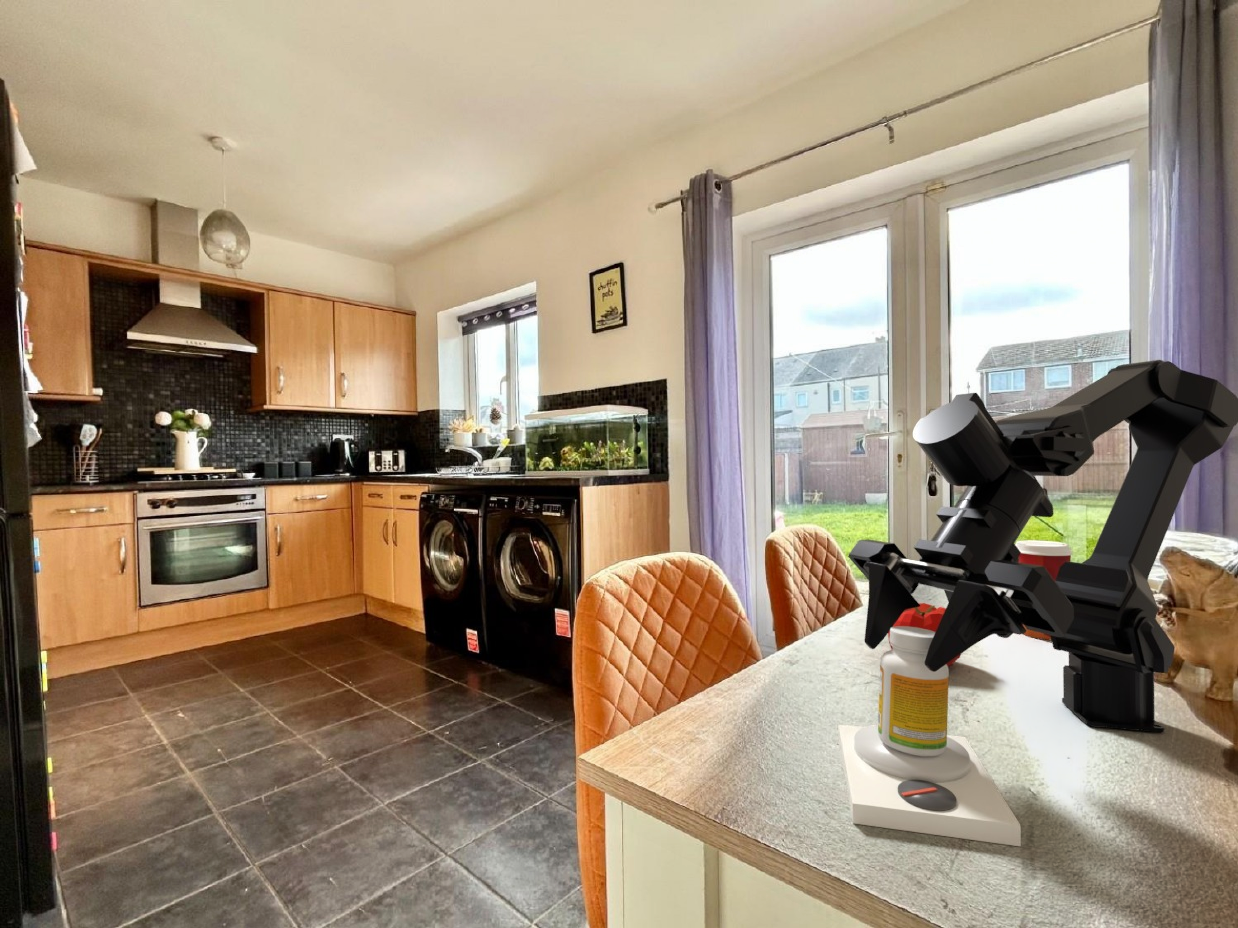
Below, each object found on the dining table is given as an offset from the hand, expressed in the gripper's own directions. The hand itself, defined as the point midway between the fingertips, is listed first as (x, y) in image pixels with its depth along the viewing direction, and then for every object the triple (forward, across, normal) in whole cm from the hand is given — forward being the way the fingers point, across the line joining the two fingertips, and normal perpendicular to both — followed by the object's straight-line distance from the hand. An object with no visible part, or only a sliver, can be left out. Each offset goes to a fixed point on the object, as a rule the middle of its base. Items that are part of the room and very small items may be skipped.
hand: (897, 656), depth 52 cm
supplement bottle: (+5, 0, -7) cm, 8 cm away
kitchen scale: (+7, -2, -7) cm, 10 cm away
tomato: (-11, +20, -26) cm, 34 cm away
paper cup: (-30, +22, -45) cm, 58 cm away
